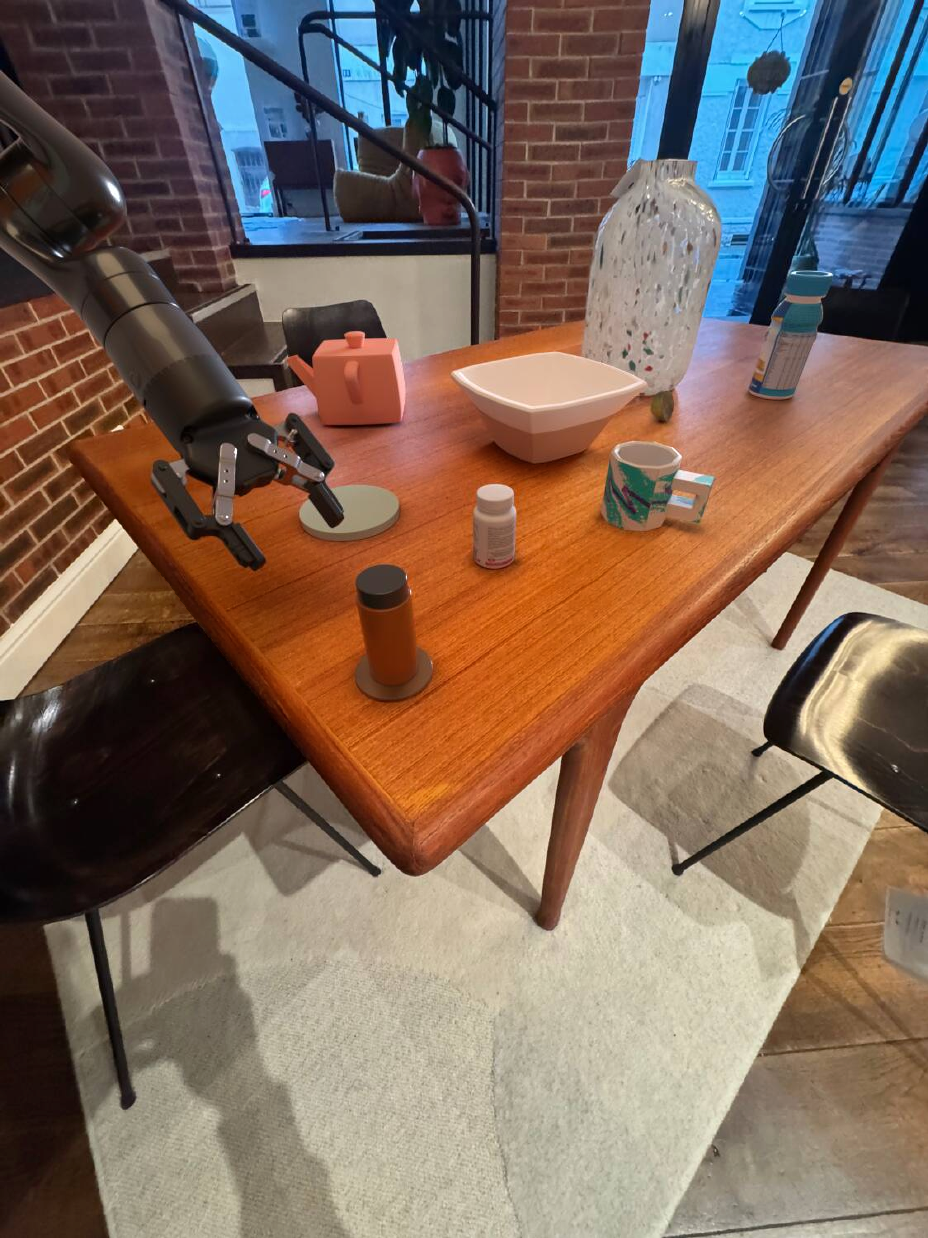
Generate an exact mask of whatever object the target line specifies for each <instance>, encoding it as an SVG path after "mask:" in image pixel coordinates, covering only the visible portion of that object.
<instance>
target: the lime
mask: <svg viewBox="0 0 928 1238" xmlns="http://www.w3.org/2000/svg"><path fill="white" fill-rule="evenodd" d="M674 401H675V400H674V394H673V392H671V390H670V389H663V390H660V391H658V392H657V393H655V395H654V396H653V398H652V400H651V402H650V407H649V410H650V413H651V414H652V416H653V417H654V418H656V419H657V420H659V421H661V422H668V421H670V420H671V418H672V417H673V413H674V410H675V409H674V408H675V402H674Z"/></svg>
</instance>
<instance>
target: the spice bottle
mask: <svg viewBox="0 0 928 1238" xmlns="http://www.w3.org/2000/svg"><path fill="white" fill-rule="evenodd" d="M354 585H355V588H356V594H355V602H356V607H357V613H358V618H359V622H360V628H361V633H362V638H363V643H364V648H365V654H366V653H367V658H368V664H369V669H370V673H371V676H372V677H373V679H374V680H375V681H377V682H378V683H380V684H383V685H387V686H396V685H401V684H404V683H406V682H408V681H410V680H411V679H412V678H413V677H414V676H415V675H416V674H417V672H418V669H419V661H418V652H417V647H418V643H417V634H416V626H415V625H416V624H415V616H414V606H413V605H414V604H413V596H412V590H411V588H410V586H409V583H408V576H407V573H406V571H405V570H404V569H403V568H401V567H400V566H397V565H395V564H387V563H381V564H375V565H371V566H368V567H366V568H365V569H363V570H361V571H360V572H359V573H358V574H357V576H356V578H355V584H354Z"/></svg>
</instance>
